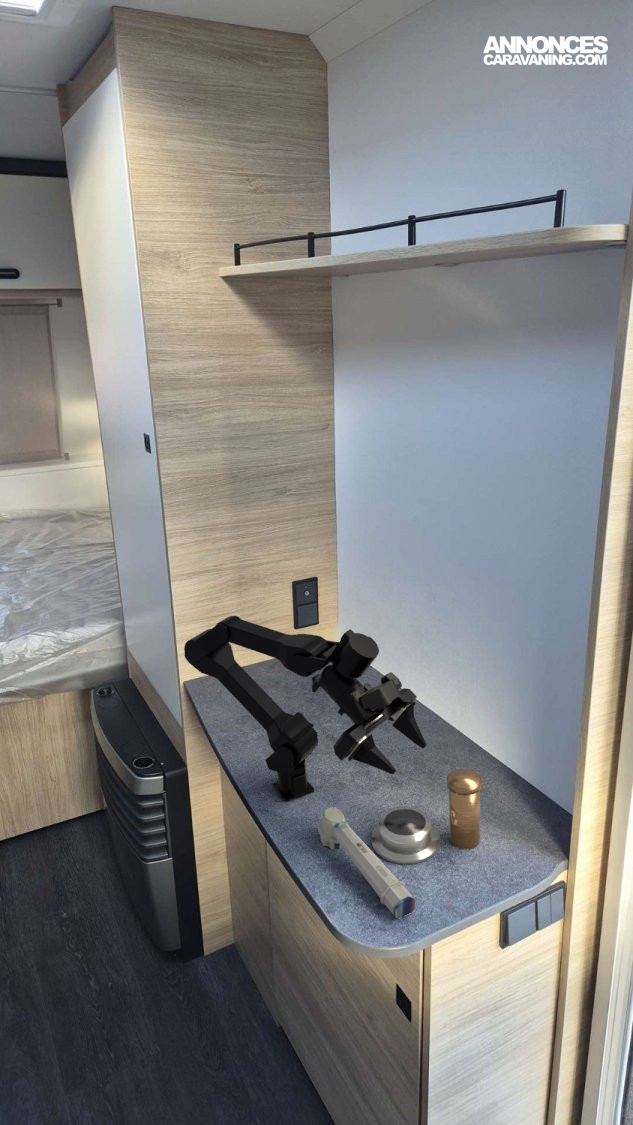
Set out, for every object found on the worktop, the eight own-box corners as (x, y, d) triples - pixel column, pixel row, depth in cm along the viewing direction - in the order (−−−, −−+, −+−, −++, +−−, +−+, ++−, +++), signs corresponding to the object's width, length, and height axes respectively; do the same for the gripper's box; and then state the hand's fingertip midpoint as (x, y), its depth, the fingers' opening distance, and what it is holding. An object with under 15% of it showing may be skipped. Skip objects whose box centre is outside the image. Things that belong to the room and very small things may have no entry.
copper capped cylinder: (441, 835, 139) (439, 774, 135) (468, 824, 141) (467, 764, 137) (461, 854, 134) (460, 791, 130) (488, 842, 136) (488, 780, 132)
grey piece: (392, 905, 119) (311, 804, 139) (390, 937, 122) (312, 833, 141) (420, 892, 121) (337, 794, 141) (418, 922, 124) (337, 822, 144)
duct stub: (358, 834, 141) (357, 815, 140) (415, 812, 146) (414, 793, 145) (395, 873, 131) (394, 853, 129) (454, 848, 136) (453, 828, 134)
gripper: (332, 689, 128) (399, 761, 123) (398, 645, 141) (461, 709, 136) (307, 726, 136) (369, 796, 131) (372, 681, 149) (431, 743, 144)
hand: (410, 759), depth 135 cm, fingers open, 9 cm apart
